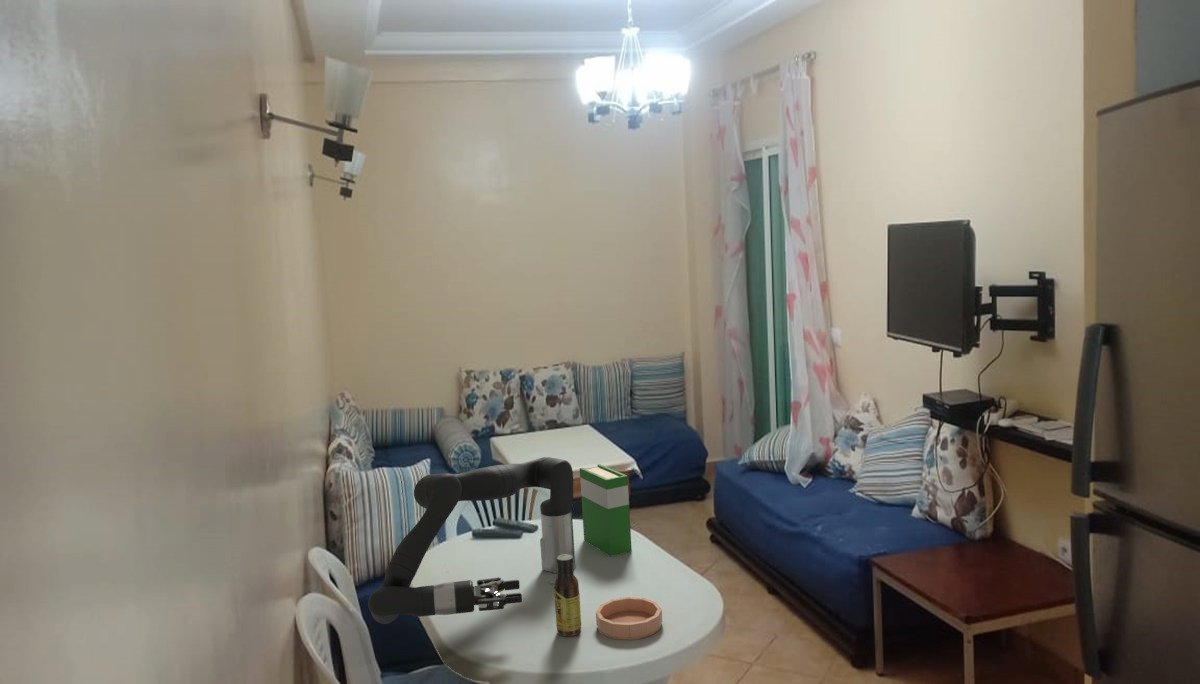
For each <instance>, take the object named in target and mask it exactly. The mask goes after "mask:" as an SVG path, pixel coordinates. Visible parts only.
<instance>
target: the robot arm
mask: <svg viewBox="0 0 1200 684" xmlns="http://www.w3.org/2000/svg"><path fill="white" fill-rule="evenodd" d="M527 488H541V489H546V490H550V492H549V498H548V499H545V500H543V501H541V503H540V506H539V507H540V508H539V509H540V521H541V522H540V523H541V536H542V537H541V538H540V539H539V543H540V544H539V545H540V557H541V570H542V571H546V572H548V571H549V572H548V573H552V572H553V573H554V574H558V564H557V557H558V556H559V555H563V554H569V555H572V556H573V570H574V569H575V567H576V555H575V553H576V551H575V539H574V524H573V510H572V509H573V507H572V505H573V502H574V471H573V467H572V465H571V463H570V462H569V461H568V460H565V459H561V458H556V457H549V456H545V457H544V456H543V457H540V458H535V459H532V460H530V461H526V462H522V463H506V464H497V465H489V466H484V467H481V468H480V467H479V468H476V469H472V470H468V471H464V472H461V473H456V474H455V473H453V474H452V473H445V472H443V473H431V474H427V475H425V476H423V477H421V478H420V479H419V480H417V483H416V484H415V486H414V489H413V498H414V499H415V502H416V503H417V504H418V505H419V506H420V507H421V508H424V509H425V511H424V513H423V515H421V518H420V519H419V520H418V521H417V522H416V524H415V525H414V527H412V529H411V530H409V532H407V534H406V535H405V537H404V538H403V539H402V540H401V541H400V543H399V544H398V545H397V547H396V549H395V551H394V552H393V554H392V557H391V559H390V560H389V563H388V565H387V566H386V570H385V574H384V580H383V583H382V585H381V587H380V588H377V589H376V590H374V591H373V592H372V593H370V595H369V598H368V601H367V606H368V609H369V612H370V613H371V617H372V618H373V619H374V621H375V622H377V623H379V624H382V625H385V624H386V625H387V624H390V623H392V622H393V621H395V620H396V619H397V618H398V617H399V615H412V616H414V617H416V618H417V617H419V618H420V617H430V616H449V615H458V614H466V613H473V612H474V611H475V606H478V611H479V612H483V611H496V610H504V609H505V606H507V605H510V604H518V603H522V602H523V596H522V595H523V594H522V593H521V592H514V593H513V592H512V593H506V594H504V593H501V592H503V591H513V590H520V586H521V585H520V580H519V579H512V580H511V579H509V580H504V579H502V578H501V577H493V578H485V579H478V580H476V585H475V586H474V584H473V583H474V582H473V580H472V579H471V580H470V579H469V580H460V581H459V580H457V581H451V582H443V583H442V582H441V583H438V584H434V585H433V584H432V585H423V586H417V587H414V586H413V587H412V586H411V584H412V582H413V580H414V578H415V576H416V575H417V572H418V570H419V568H420V566H421V563H422V562H423V559H424V558H425V555H426V553H427V552H428V549H429V548H430V547H431V544H432V543H433V541H434V540H435V538H436V537H437V535H438V534H439V532H440V530H441V528H442V527H443V526H444V524H445V523H446V521H447V519H448V518H449V517H450V515H451V514H452V512H453V511H454V509H455V507H456V506H457V504H458V503H459V502H471V501H472V502H474V501H475V502H478V501H479V502H480V501H481V502H482V501H494V500H499V499H505V498H509V497H512V496H515V494H517V493H518V492H519V491H520V490H521V489H527Z"/></svg>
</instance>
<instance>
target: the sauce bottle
mask: <svg viewBox="0 0 1200 684" xmlns="http://www.w3.org/2000/svg"><path fill="white" fill-rule="evenodd" d="M557 564H558V573H557V576H556V579H555V581H554V582H555V583H554V586H553V595H554V610H555V611H554V612H555V625H556V631H557V633H558V635H560V636H562V637H574V636H577V635H579V634H580V632H581V630H582V617H581V616H582V615H581V613H582V611H581V601H580V600H581V597H580V587H579V586H580V585H579V580H578V579H577V576H575V574H574V569H573V556H572V555H569V554H563V555H559V556H558V557H557Z"/></svg>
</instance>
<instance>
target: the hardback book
mask: <svg viewBox="0 0 1200 684" xmlns="http://www.w3.org/2000/svg"><path fill="white" fill-rule="evenodd" d="M579 477H580V478H579V481H580V493H581V494H580V495H581V508H582V509H581V512H582V527H583V528H582V529H583V530H582V531H583V541H584V540H585V541H584V542H586V541H587V542H588V543H587V542H586V543H587V544H589V543H590V545H591V546H592V545H593V546H592V547H594V548H596V549H597V548H598V549H597V550H599V549H600V550H599V551H601V552H602V553H604V554H606V555H607V556H609V557H614V556H618V555H623V554H625V553H626V554H627V553H630V551H631V552H632V551H633V549H632V534H631V515H630V514H631V513H630V500H629V499H630V497H629V495H630V494H629V479H628V475H627V474H624V473H622V472H620V471H618V470H615V469H612V468H610V467H608V466H605V465H604V464H601V463H598V464H597V467H593V468H587V469H586V468H585V467H579Z"/></svg>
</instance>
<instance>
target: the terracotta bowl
mask: <svg viewBox="0 0 1200 684" xmlns="http://www.w3.org/2000/svg"><path fill="white" fill-rule="evenodd" d="M595 619H596V620H595V621H596V626H597V630H598V633H600V635H602V636H604V637H606V638H609V639H612V640H618V641H636V640H642V639H645V638H649V637H651V636H653V635H655V634H657V633H658V632H659V631H660V629H661V627H662V622H663V608H662V607H661V606H660V605H659V604H658V602H657V601H654V600H652V599H648V598H646V597H636V596H635V597H634V596H632V597H631V596H626V597H621V598H620V597H619V598H615V599H610V600H609V601H606V602H604V603H602V604H600V605H599V607H598V608H597V610H596V611H595Z"/></svg>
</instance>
